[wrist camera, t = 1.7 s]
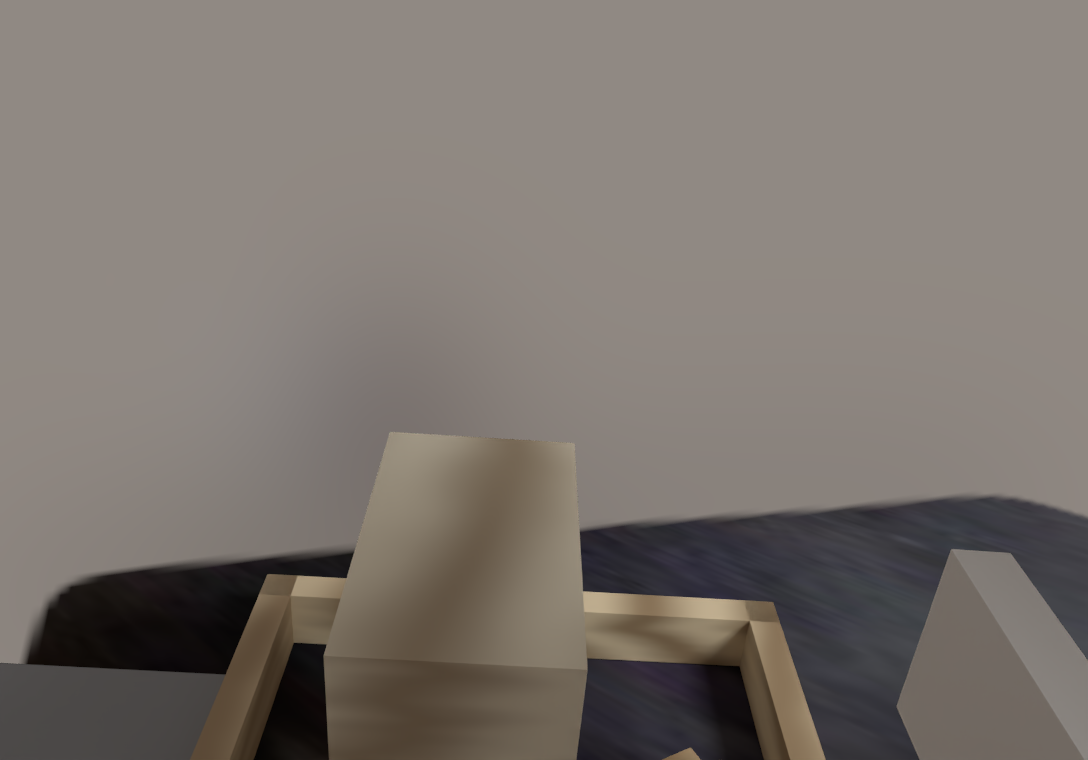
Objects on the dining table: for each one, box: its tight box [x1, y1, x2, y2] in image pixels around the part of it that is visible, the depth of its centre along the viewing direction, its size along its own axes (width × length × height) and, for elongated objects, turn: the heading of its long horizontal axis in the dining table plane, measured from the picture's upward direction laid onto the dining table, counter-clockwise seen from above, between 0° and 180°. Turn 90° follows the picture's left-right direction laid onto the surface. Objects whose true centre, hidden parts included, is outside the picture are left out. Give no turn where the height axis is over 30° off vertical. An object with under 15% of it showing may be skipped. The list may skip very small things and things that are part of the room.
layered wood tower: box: [324, 432, 587, 760], centre depth 29 cm, size 6×10×18 cm, turn 0°
